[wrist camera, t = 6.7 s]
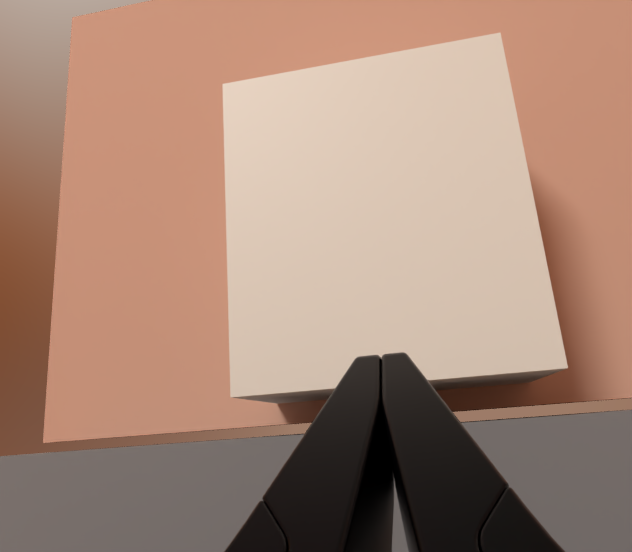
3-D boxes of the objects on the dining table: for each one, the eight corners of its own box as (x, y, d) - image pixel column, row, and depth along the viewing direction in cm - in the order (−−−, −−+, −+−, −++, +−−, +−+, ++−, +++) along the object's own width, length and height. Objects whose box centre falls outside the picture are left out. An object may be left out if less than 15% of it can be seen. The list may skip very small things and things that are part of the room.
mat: (842, 381, 13) (854, 380, 13) (51, 442, 17) (43, 442, 16) (676, -104, 18) (682, -115, 17) (78, 24, 21) (72, 17, 21)
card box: (567, 368, 11) (500, 32, 13) (230, 397, 12) (222, 83, 14) (529, 382, 14) (482, 121, 17) (277, 403, 15) (265, 156, 18)
